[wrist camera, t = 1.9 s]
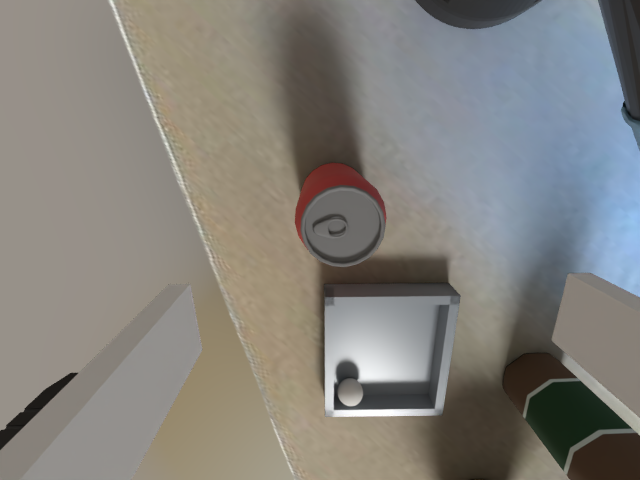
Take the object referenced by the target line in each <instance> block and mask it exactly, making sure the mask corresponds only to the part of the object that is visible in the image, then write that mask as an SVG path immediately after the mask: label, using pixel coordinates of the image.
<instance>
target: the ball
mask: <svg viewBox="0 0 640 480" xmlns="http://www.w3.org/2000/svg"><path fill="white" fill-rule="evenodd" d="M338 397H339V399H340V401H341V402H342V403H343V404H345V405H347V406H355V405H357V404H358V403H359V402H360V401H361V399H362V397H363V389H362V386H361V384H360V383H359V382H358V381H357V380H355V379H353V378H347V379H344V380H343V381H342V382H341V383H340V384H339V386H338Z"/></svg>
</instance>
